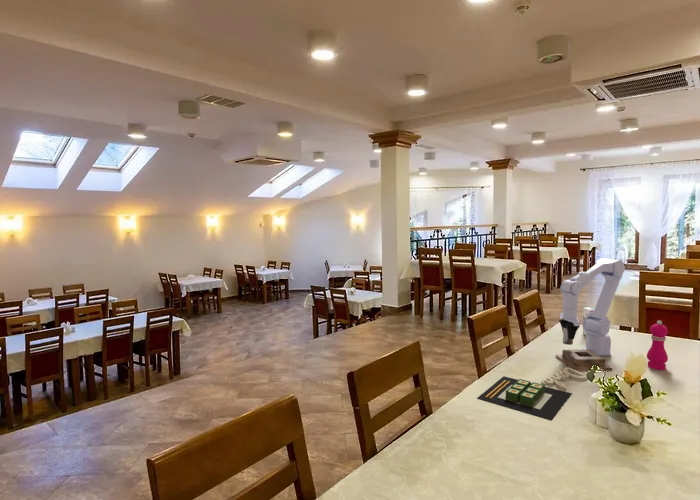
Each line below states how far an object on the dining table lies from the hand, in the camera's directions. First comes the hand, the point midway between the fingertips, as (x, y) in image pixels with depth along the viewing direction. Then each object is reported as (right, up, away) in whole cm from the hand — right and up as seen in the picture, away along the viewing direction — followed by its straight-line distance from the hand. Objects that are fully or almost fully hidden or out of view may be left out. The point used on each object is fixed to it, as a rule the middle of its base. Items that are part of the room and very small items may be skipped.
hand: (568, 337), depth 191 cm
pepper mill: (+31, -10, -11) cm, 35 cm away
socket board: (+3, -10, -6) cm, 12 cm away
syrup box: (+28, -6, +33) cm, 43 cm away
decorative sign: (-13, -13, -23) cm, 29 cm away
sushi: (-34, -15, -36) cm, 52 cm away
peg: (0, -3, 0) cm, 3 cm away
